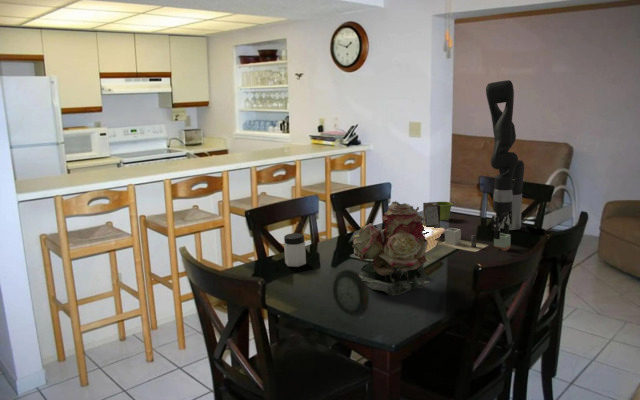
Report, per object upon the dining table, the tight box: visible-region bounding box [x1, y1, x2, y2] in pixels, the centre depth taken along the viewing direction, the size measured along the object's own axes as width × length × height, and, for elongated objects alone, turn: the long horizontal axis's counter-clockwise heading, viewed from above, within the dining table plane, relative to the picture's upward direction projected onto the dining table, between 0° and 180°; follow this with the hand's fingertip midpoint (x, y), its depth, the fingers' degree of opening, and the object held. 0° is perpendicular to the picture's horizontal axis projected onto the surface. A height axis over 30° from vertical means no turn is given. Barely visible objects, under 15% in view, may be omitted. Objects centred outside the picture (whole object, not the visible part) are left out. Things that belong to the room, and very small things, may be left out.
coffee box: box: [422, 201, 441, 229], centre depth 243 cm, size 9×6×16 cm
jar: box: [283, 232, 307, 268], centre depth 216 cm, size 9×8×12 cm
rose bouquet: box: [352, 200, 431, 296], centre depth 189 cm, size 26×29×30 cm
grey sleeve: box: [444, 227, 462, 245], centre depth 231 cm, size 5×5×6 cm
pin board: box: [437, 234, 489, 253], centre depth 227 cm, size 12×18×6 cm, turn 46°
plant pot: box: [436, 201, 453, 222], centre depth 275 cm, size 9×9×9 cm
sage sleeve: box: [493, 232, 512, 252], centre depth 223 cm, size 5×5×6 cm
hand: (501, 236), depth 223 cm, fingers open, 8 cm apart
